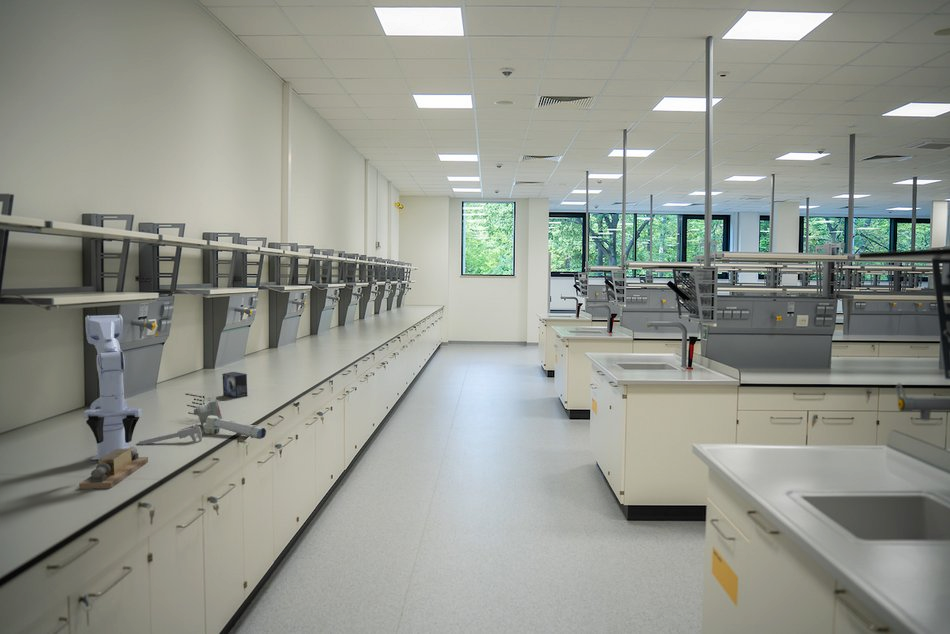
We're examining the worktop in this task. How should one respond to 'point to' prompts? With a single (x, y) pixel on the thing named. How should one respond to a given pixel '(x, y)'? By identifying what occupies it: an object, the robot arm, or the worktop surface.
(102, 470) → the shaft cradle
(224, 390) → the small box
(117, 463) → the coupling block
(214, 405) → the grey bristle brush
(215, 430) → the blue-tipped grey rod
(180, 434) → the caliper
